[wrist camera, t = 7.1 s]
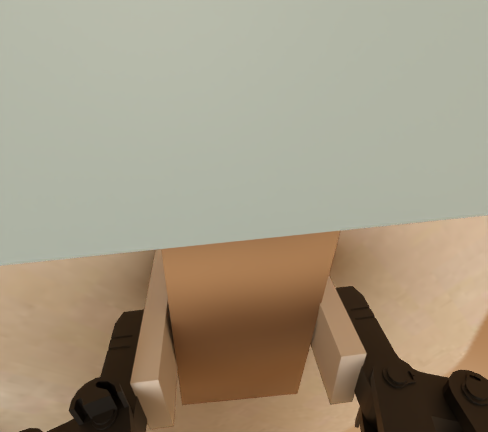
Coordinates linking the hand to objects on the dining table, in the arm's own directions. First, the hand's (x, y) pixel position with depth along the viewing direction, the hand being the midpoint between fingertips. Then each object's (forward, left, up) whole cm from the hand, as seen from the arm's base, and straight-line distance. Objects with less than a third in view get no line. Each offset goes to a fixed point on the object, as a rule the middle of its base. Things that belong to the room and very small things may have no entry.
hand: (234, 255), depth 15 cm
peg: (0, 0, 0) cm, 1 cm away
